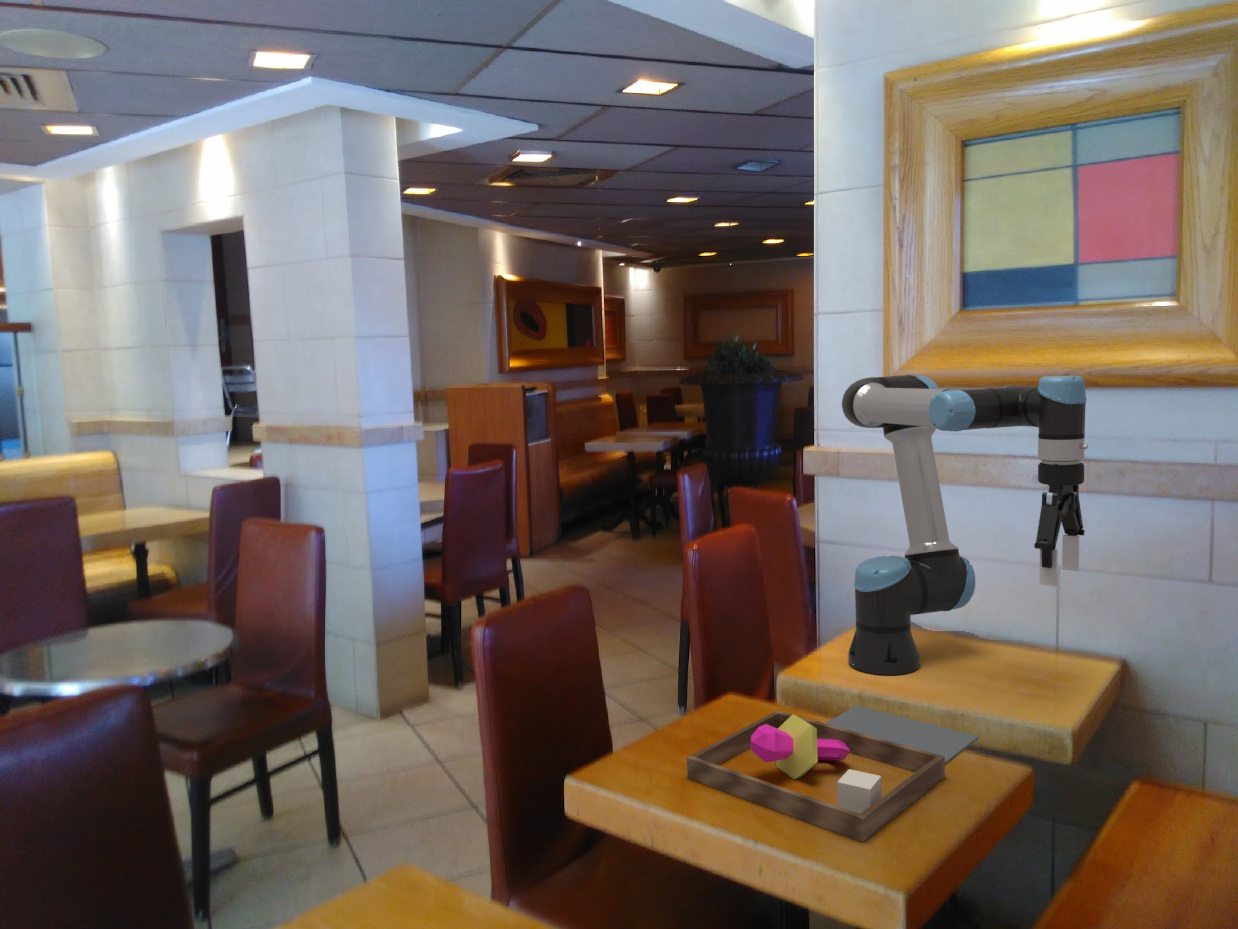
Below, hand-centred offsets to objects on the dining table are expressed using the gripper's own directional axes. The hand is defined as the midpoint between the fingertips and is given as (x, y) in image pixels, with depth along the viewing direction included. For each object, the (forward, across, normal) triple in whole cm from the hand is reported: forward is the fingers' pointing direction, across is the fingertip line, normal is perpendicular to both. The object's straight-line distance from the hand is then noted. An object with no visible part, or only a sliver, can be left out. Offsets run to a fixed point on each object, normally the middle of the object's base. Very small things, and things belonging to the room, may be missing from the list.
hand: (1059, 577), depth 165 cm
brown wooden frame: (+26, -49, +23) cm, 60 cm away
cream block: (+26, -54, +13) cm, 62 cm away
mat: (+26, -27, +20) cm, 43 cm away
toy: (+26, -48, +27) cm, 61 cm away
